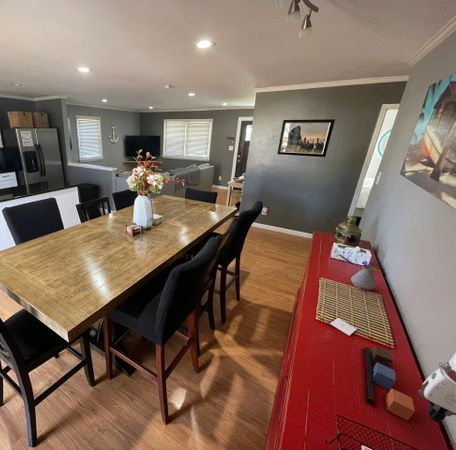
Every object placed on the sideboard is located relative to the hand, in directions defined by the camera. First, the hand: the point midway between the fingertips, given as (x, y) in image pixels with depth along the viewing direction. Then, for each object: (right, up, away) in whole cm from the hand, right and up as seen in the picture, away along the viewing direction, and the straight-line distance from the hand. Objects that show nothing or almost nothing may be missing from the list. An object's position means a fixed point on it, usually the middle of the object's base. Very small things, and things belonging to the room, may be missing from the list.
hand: (433, 416), depth 73 cm
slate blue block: (-2, +2, +14) cm, 15 cm away
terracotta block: (-6, -2, +5) cm, 8 cm away
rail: (-5, +3, +16) cm, 18 cm away
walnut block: (+3, +5, +22) cm, 22 cm away
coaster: (+2, +12, +38) cm, 40 cm away
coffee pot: (+33, +24, +71) cm, 82 cm away
